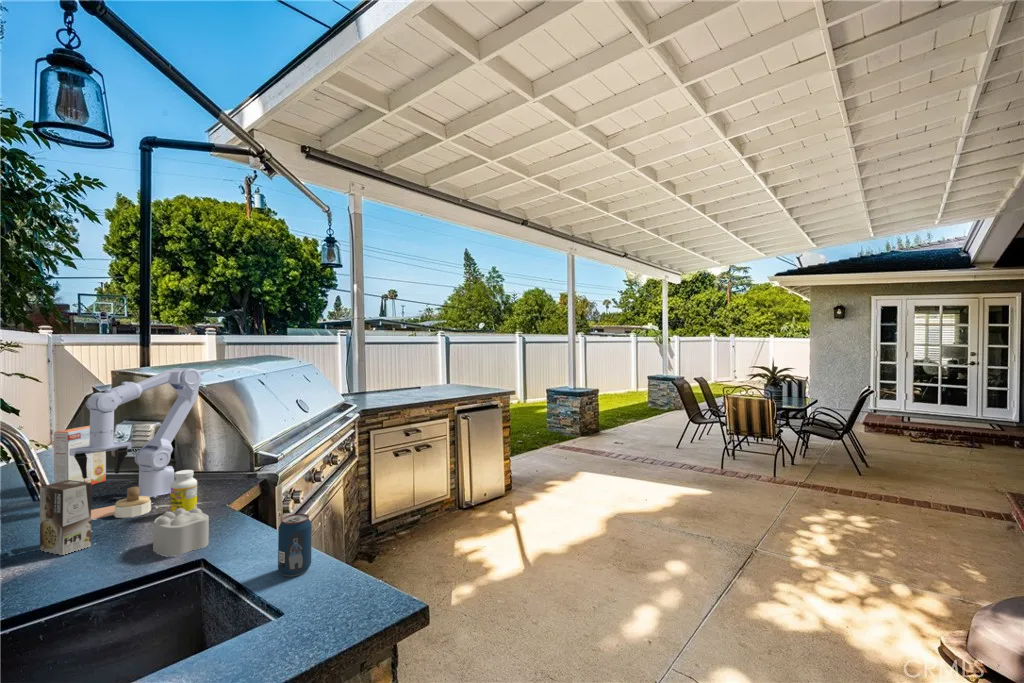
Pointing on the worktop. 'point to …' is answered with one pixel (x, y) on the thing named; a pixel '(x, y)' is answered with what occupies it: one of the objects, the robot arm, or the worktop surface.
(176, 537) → the beige bumpy block
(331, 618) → the worktop surface
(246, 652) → the worktop surface
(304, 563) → the soda can
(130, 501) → the bamboo lid
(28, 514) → the worktop surface
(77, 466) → the cracker box
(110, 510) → the mat
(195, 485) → the supplement bottle
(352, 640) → the worktop surface
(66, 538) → the coffee box
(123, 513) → the bowl
